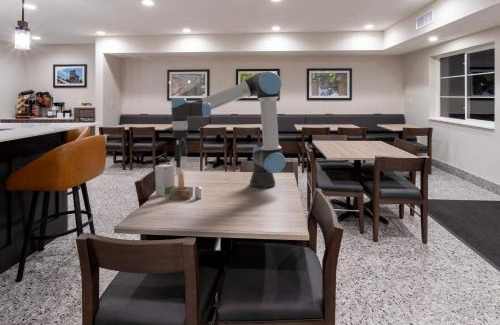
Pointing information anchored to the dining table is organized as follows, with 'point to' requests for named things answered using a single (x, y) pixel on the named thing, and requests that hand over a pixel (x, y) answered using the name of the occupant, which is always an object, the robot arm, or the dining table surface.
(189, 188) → the socket block
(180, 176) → the long pin
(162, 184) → the skincare box
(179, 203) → the dining table surface
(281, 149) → the robot arm
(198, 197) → the short pin
